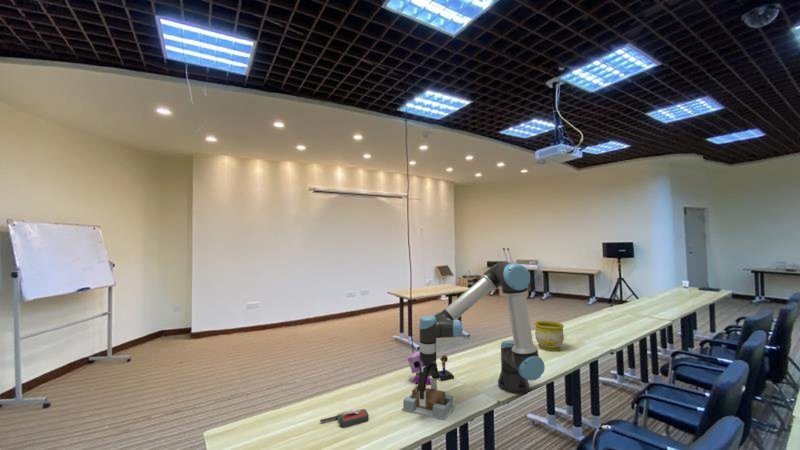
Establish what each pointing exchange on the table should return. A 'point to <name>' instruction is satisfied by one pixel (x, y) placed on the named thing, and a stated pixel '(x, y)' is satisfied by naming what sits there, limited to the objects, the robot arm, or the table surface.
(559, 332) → the flowerpot
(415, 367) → the toy
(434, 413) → the jig
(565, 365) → the table surface
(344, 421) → the chainsaw
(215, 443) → the table surface
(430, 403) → the wooden block
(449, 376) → the figurine
